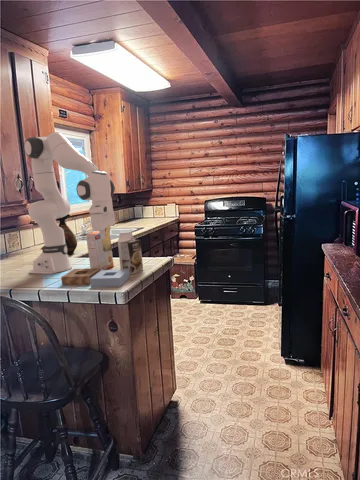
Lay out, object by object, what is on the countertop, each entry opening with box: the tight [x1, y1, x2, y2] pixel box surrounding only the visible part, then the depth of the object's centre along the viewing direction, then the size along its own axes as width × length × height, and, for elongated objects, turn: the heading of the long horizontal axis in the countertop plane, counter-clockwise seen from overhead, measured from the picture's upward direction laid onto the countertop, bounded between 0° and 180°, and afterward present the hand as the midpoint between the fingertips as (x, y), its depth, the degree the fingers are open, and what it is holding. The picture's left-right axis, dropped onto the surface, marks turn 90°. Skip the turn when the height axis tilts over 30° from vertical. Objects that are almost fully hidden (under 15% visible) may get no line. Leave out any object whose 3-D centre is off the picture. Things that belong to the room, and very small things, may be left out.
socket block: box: [90, 269, 131, 288], centre depth 164 cm, size 14×14×4 cm
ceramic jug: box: [56, 213, 78, 256], centre depth 232 cm, size 17×15×30 cm
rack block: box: [60, 267, 101, 286], centre depth 170 cm, size 14×14×4 cm
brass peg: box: [102, 225, 113, 252], centre depth 160 cm, size 4×4×12 cm
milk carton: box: [117, 232, 136, 270], centre depth 187 cm, size 7×7×19 cm
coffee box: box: [120, 239, 144, 275], centre depth 178 cm, size 9×6×16 cm
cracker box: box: [85, 231, 114, 270], centre depth 186 cm, size 14×6×21 cm, turn 159°
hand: (105, 237), depth 160 cm, fingers closed on brass peg, 4 cm apart
